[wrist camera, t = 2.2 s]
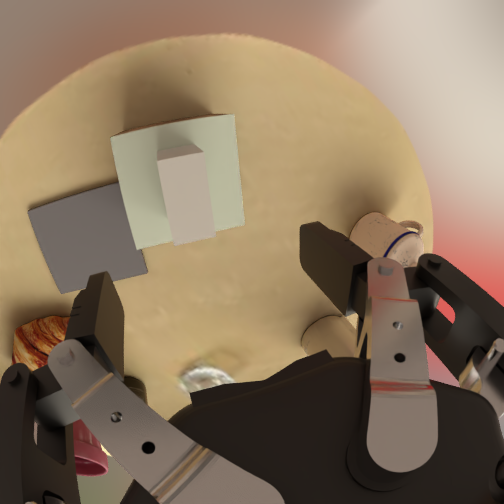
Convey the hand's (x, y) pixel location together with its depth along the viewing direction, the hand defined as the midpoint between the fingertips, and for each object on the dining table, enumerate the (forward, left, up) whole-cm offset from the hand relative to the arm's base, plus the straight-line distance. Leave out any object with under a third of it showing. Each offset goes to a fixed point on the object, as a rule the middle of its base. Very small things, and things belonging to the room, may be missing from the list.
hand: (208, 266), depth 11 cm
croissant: (+27, +20, -23) cm, 41 cm away
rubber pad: (+12, +6, -22) cm, 26 cm away
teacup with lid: (-30, +15, -22) cm, 40 cm away
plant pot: (+34, +43, -22) cm, 59 cm away
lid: (0, 0, -15) cm, 15 cm away
